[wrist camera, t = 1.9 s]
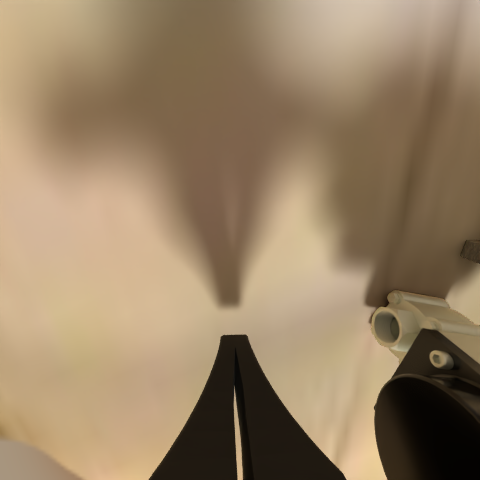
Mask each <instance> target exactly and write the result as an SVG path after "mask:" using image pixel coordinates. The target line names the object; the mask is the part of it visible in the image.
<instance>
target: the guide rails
mask: <svg viewBox="0 0 480 480" xmlns="http://www.w3.org/2000/svg"><path fill="white" fill-rule="evenodd" d="M461 257H464V258H466V259H469V260H471V261H474V262H476V263H478V264H480V240H467V241H466V243H465V246H464V248H463V251H462V253H461Z"/></svg>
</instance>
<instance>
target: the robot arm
mask: <svg viewBox="0 0 480 480" xmlns="http://www.w3.org/2000/svg"><path fill="white" fill-rule="evenodd" d="M234 386H235V394H236V402H237V411H238V419H239V427H240V435H241V447H242V467H243V480H346V478H345V476H344V474H343V473H342V472H341V471H340V470H339V469H338V468H337V467H336V466H335V465H334V464H333V463H332V462H331V461H330V460H329V459H328V457H327V456H326V455H325V454H324V453H323V452H322V451H321V450H320V449H319V448H318V447H317V446H316V444H315V443H314V442H313V441H312V440H311V439H310V438H309V436H308V435H307V434H306V433H305V432H304V430H303V429H302V428H301V427H300V425H299V424H298V423H297V422H296V420H295V419H294V418H293V417H292V415H291V414H290V413H289V411H288V410H287V409H286V407H285V406H284V404H283V403H282V402H281V400H280V399H279V397H278V396H277V394H276V393H275V391H274V389H273V388H272V386H271V385H270V383H269V381H268V380H267V378H266V376H265V374H264V373H263V371H262V369H261V367H260V365H259V363H258V361H257V359H256V357H255V355H254V352H253V350H252V348H251V345H250V343H249V340H248V336H247V335H223V336H221V340H220V345H219V350H218V353H217V357H216V360H215V362H214V365H213V368H212V371H211V373H210V376H209V378H208V380H207V383H206V385H205V387H204V390H203V392H202V394H201V396H200V398H199V400H198V402H197V404H196V406H195V408H194V410H193V412H192V413H191V415H190V417H189V419H188V421H187V422H186V424H185V426H184V427H183V429H182V431H181V432H180V434H179V436H178V437H177V439H176V440H175V442H174V443H173V445H172V447H171V448H170V450H169V451H168V453H167V454H166V456H165V457H164V459H163V460H162V462H161V463H160V464H159V466H158V467H157V469H156V470H155V471H154V473H153V474H152V476H151V477H150V478H149V480H237V463H236V445H235V425H234V405H233V404H234Z"/></svg>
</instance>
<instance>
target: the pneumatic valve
mask: <svg viewBox="0 0 480 480" xmlns="http://www.w3.org/2000/svg"><path fill="white" fill-rule="evenodd" d="M387 299H388V301H389V302H390V303H389V305H388V306H387V307H379V308H378V309H377V310H376V312H375V313H374V315H373V317H372V327H371V332H372V334H374V337H375V338H376V340H377V342H378V343H379V344H380V345H382V346H384V347H387V348H389V350H390V351H391V352H392V353H393V354H394V355H395V356H396V357H398V358H399V364H400V365H399V367H398V368H397V370H396V372H395V373H394V375H393V376H392V378H391V379H390V380H389V381H388V382H387V383H386V384H385V385H384V386H383V388H382V389H381V391H380V393H379V395H378V398H377V402H376V404H375V406H374V410H375V417H374V424H375V436H376V442H377V447H378V452H379V456H380V459H381V462H382V466H383V469H384V472H385V475H386V477H387V480H480V325H476V324H474V323H473V322H471V321H470V320H469V319H468V318H467V317H465V316H464V315H462V314H461V313H459V312H457V311H455V310H453V309H450V306H449V304H448V303H447V302H446V301H445V300H444V299H442V298H437V297H431V296H426V295H420V294H415V293H409V292H404V291H398V290H394V291H392V292H391V293H389V294H388V296H387Z"/></svg>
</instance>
